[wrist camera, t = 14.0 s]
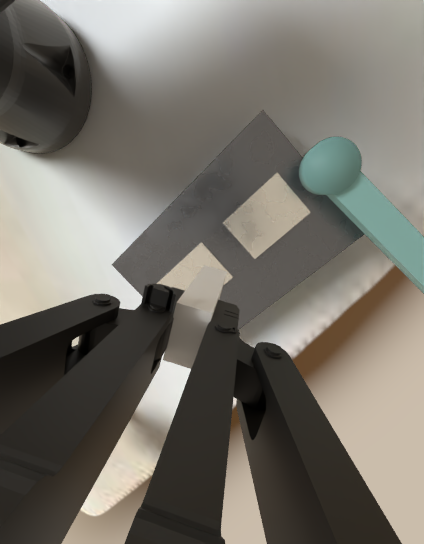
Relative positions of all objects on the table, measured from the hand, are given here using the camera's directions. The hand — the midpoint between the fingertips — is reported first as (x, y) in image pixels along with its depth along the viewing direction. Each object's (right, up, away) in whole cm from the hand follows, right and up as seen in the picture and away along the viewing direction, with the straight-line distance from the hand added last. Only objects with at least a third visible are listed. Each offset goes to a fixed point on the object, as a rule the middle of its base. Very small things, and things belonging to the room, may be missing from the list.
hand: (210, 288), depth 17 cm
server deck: (+3, +5, +16) cm, 17 cm away
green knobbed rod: (+17, +3, +6) cm, 18 cm away
